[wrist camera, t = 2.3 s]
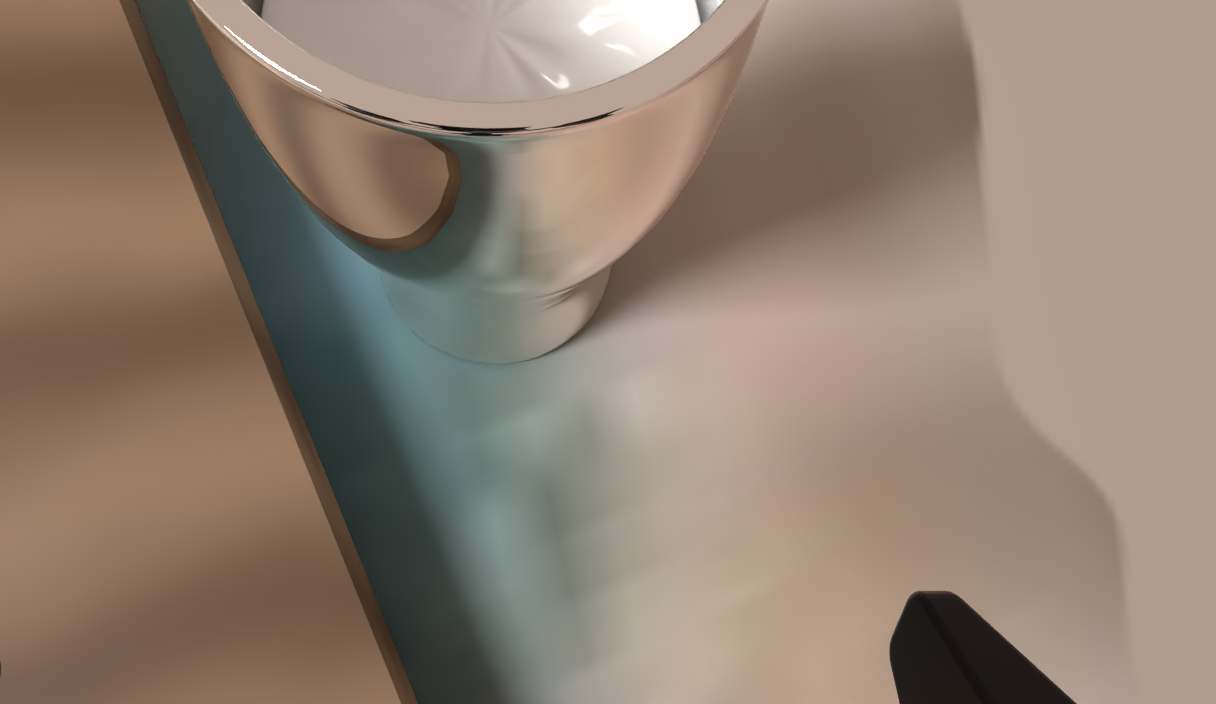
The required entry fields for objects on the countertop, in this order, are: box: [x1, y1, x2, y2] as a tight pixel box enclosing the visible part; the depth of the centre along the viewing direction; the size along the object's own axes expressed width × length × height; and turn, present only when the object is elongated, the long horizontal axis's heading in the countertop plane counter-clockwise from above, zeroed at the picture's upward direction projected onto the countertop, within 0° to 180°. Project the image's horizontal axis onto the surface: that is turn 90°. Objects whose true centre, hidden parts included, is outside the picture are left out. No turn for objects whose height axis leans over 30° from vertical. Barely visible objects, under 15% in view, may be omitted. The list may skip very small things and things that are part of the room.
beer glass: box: [186, 0, 769, 364], centre depth 16 cm, size 7×7×15 cm
